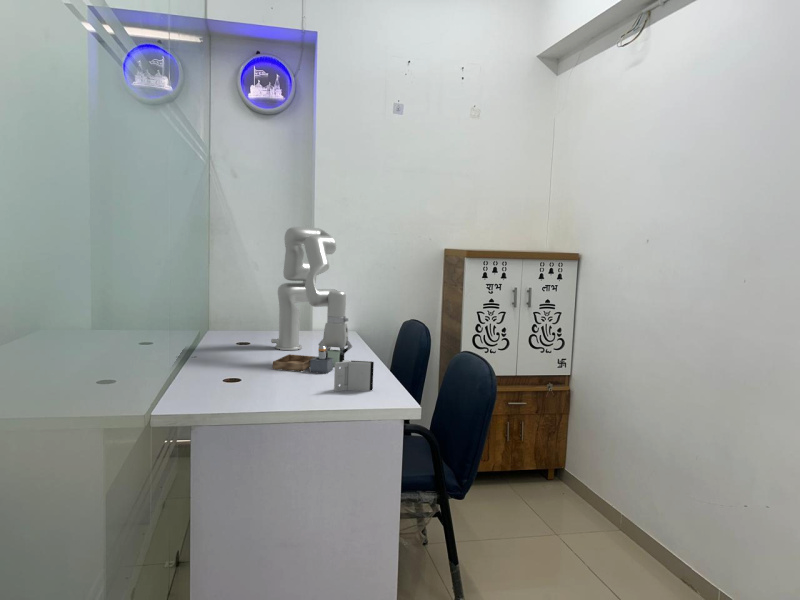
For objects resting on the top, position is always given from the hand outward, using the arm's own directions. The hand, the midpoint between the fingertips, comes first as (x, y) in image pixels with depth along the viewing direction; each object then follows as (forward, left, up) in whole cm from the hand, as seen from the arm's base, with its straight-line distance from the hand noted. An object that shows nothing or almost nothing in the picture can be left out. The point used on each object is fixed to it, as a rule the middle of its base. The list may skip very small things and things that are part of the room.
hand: (334, 362), depth 240 cm
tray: (-14, -10, -1) cm, 17 cm away
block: (-1, -14, -1) cm, 14 cm away
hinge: (+19, -38, -1) cm, 43 cm away
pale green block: (0, 0, -1) cm, 1 cm away
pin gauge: (-1, -14, -1) cm, 14 cm away
